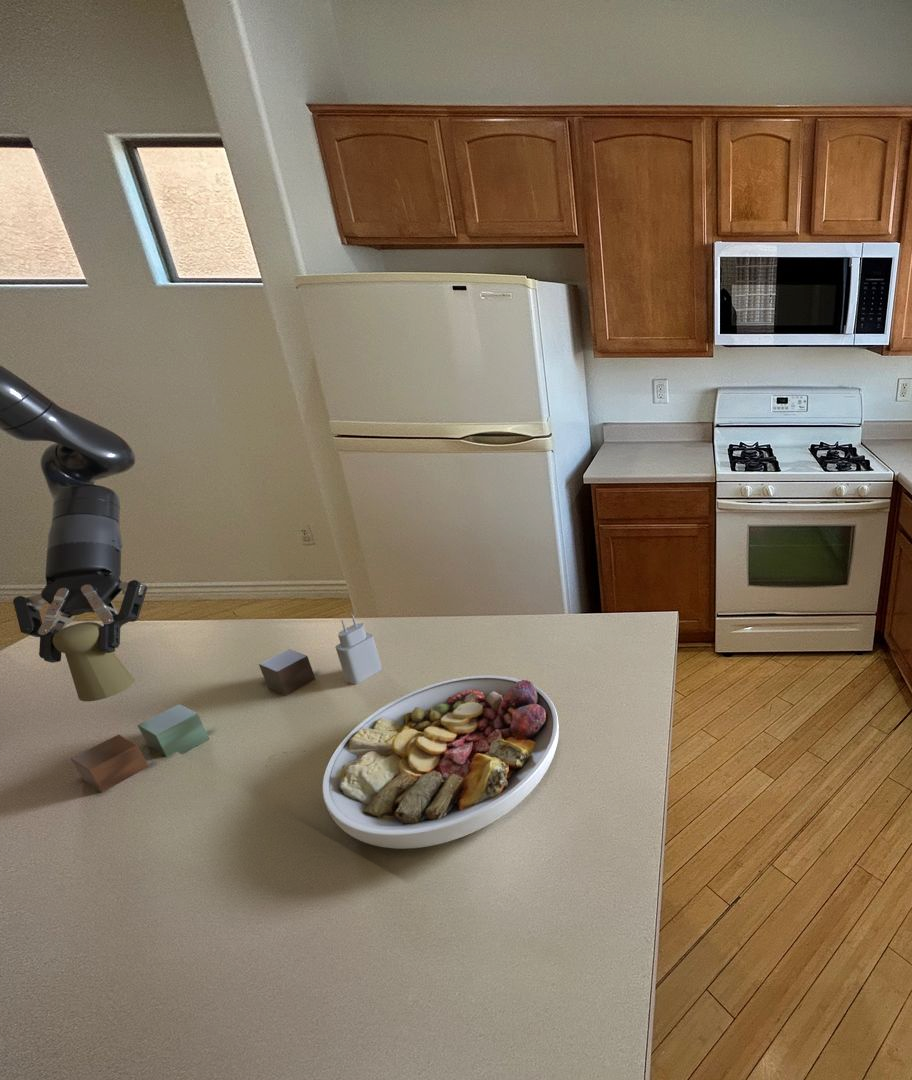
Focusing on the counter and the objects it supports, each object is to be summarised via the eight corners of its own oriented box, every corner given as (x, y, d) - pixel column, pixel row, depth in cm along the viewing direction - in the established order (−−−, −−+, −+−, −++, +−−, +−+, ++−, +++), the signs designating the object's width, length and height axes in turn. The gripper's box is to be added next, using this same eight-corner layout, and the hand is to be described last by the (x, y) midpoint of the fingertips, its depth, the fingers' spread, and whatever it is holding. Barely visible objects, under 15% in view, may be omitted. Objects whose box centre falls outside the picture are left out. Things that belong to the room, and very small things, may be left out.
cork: (89, 682, 86) (56, 622, 81) (141, 671, 88) (112, 613, 84) (70, 706, 81) (34, 643, 76) (125, 694, 83) (93, 632, 79)
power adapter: (384, 668, 101) (368, 612, 96) (355, 685, 97) (337, 627, 92) (372, 663, 102) (356, 608, 97) (344, 680, 98) (325, 623, 93)
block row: (104, 798, 75) (88, 770, 73) (86, 785, 76) (70, 758, 74) (315, 679, 98) (307, 655, 96) (297, 671, 100) (289, 648, 98)
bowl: (397, 915, 61) (380, 867, 58) (296, 781, 78) (279, 738, 74) (602, 753, 83) (599, 712, 80) (490, 676, 100) (483, 639, 96)
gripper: (-1, 548, 79) (-12, 663, 74) (133, 533, 85) (131, 639, 80) (37, 566, 85) (30, 673, 80) (159, 551, 91) (159, 650, 86)
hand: (80, 655), depth 80 cm, fingers closed on cork, 5 cm apart
